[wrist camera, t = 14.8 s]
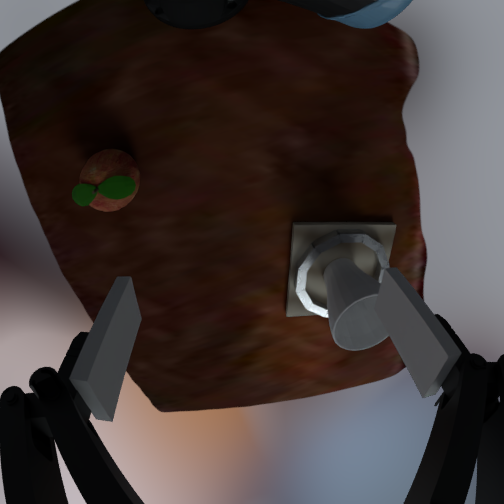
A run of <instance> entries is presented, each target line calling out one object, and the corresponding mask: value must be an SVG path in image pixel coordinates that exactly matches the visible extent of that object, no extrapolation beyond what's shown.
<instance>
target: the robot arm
mask: <svg viewBox="0 0 504 504" xmlns="http://www.w3.org/2000/svg"><path fill="white" fill-rule="evenodd" d="M279 1H282V2H286V3H289V4H292V5H295V6H298V7H301V8H304V9H307V10H310V11H313V12H316V13H317V14H318V15H319V16H321V17H323V18H325V19H331V20H336V21H339V22H341V23H344V24H347V25H349V26H352V27H355V28H363V29H364V28H373V27H377V26H380V25H382V24H384V23H386V22H388V21H390V20H391V19H393V18H394V17H396V16H397V15H398V14H400V13H401V12H402V11H403V10H404V9H405V8H406V7H407V6H408V5H409V4H410V3H411V1H412V0H279ZM144 2H145V4H146V6H147V8H148V9H149V10H150V11H151V13H152V14H153V15H154V16H155V17H156V18H158V19H159V20H160V21H162V22H163V23H165V24H167V25H170V26H173V27H176V28H182V29H202V28H207V27H212V26H215V25H218V24H220V23H223V22H225V21H227V20H228V19H230V18H232V17H233V16H235V15H236V14H237V13H238V12H239V11H240V10H241V9H242V8H243V7H244V6H245V5H246V3H247V2H248V0H144ZM374 310H375V312H376V313H377V315H378V317H379V319H380V320H381V322H382V324H383V325H384V327H385V329H386V331H387V332H388V334H389V336H390V338H391V340H392V341H393V343H394V345H395V347H396V349H397V350H398V352H399V354H400V356H401V358H402V359H403V361H404V363H405V365H406V367H407V369H408V370H409V373H410V375H411V376H412V378H413V380H414V382H415V384H416V386H417V388H418V390H419V392H420V394H421V396H422V398H425V397H428V396H431V395H435V394H436V393H437V391H438V390H439V388H440V387H441V386H442V388H443V390H444V392H443V393H442V395H441V396H440V397H439V399H438V400H437V402H436V403H435V405H434V406H437V405H438V403H439V406H438V410H437V414H436V418H435V421H434V424H433V428H432V431H431V434H430V437H429V441H428V443H427V446H426V449H425V452H424V455H423V458H422V461H421V464H420V466H419V469H418V471H417V474H416V476H415V479H414V481H413V483H412V486H411V488H410V491H409V493H408V495H407V497H406V499H405V502H404V504H464V503H465V500H466V497H467V494H468V490H469V487H470V483H471V480H472V476H473V472H474V468H475V464H476V459H477V486H476V500H475V504H504V354H503V355H501V356H500V358H499V359H498V361H497V362H486V360H485V359H484V358H483V357H482V356H480V355H478V354H474V353H472V354H470V352H469V351H468V349H467V348H466V347H465V345H464V344H463V342H462V341H461V340H460V338H459V337H458V336H457V334H455V331H454V330H453V329H451V326H450V325H449V323H448V322H447V321H446V320H445V319H444V318H443V317H441V316H440V315H438V314H435V315H434V314H433V313H432V311H431V310H430V309H429V307H428V306H427V305H426V303H425V302H424V301H423V300H422V298H421V297H420V296H419V295H418V293H417V292H416V291H415V289H414V288H413V287H412V286H411V285H410V283H409V282H408V281H407V280H406V278H405V277H404V276H403V275H402V274H401V272H400V271H399V270H398V269H397V268H385V270H384V274H383V278H382V281H381V285H380V289H379V293H378V296H377V300H376V303H375V307H374ZM140 322H141V315H140V311H139V307H138V304H137V300H136V296H135V292H134V288H133V283H132V279H131V277H117V278H116V280H115V282H114V284H113V286H112V288H111V290H110V292H109V294H108V295H107V297H106V299H105V301H104V303H103V305H102V307H101V309H100V311H99V313H98V315H97V317H96V320H95V322H94V324H93V326H92V328H91V330H90V332H80V333H79V334H78V335H77V336H76V337H75V338H74V339H73V341H72V343H71V345H70V347H69V350H68V351H67V353H66V356H65V358H64V360H63V362H62V364H61V366H60V368H59V371H58V373H57V372H56V371H55V369H53V368H51V367H43V368H39V369H38V370H36V371H35V372H34V373H33V374H32V375H31V377H30V380H29V386H30V388H31V389H32V391H33V392H34V393H26V394H25V393H24V392H23V391H22V390H21V388H19V387H17V386H11V387H9V388H7V389H6V390H4V391H3V393H2V395H1V398H0V456H1V469H2V479H3V486H4V493H5V499H6V504H68V500H67V497H66V493H65V489H64V485H63V481H62V477H61V473H60V468H59V464H58V458H57V453H56V447H55V442H56V444H57V447H58V449H59V451H60V454H61V456H62V458H63V460H64V462H65V464H66V466H67V468H68V470H69V472H70V474H71V476H72V478H73V480H74V482H75V484H76V485H77V487H78V489H79V491H80V493H81V495H82V496H83V498H84V500H85V501H86V503H87V504H144V503H143V501H142V500H141V499H140V497H139V496H138V495H137V493H136V492H135V491H134V489H133V488H132V487H131V485H130V484H129V482H128V481H127V480H126V478H125V477H124V475H123V474H122V472H121V471H120V469H119V468H118V466H117V465H116V463H115V462H114V460H113V459H112V457H111V456H110V454H109V452H108V451H107V449H106V447H105V446H104V444H103V443H102V441H101V439H100V437H99V436H98V434H97V432H96V430H95V429H94V427H93V425H92V423H91V422H90V420H89V418H90V414H91V413H92V414H93V415H94V417H95V418H96V419H98V420H105V421H111V422H112V421H113V418H114V413H115V409H116V405H117V402H118V397H119V394H120V390H121V386H122V383H123V379H124V375H125V372H126V368H127V365H128V361H129V358H130V355H131V351H132V348H133V345H134V341H135V338H136V335H137V332H138V328H139V325H140ZM499 396H500V402H499V401H498V397H499ZM54 440H55V441H54Z"/></svg>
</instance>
